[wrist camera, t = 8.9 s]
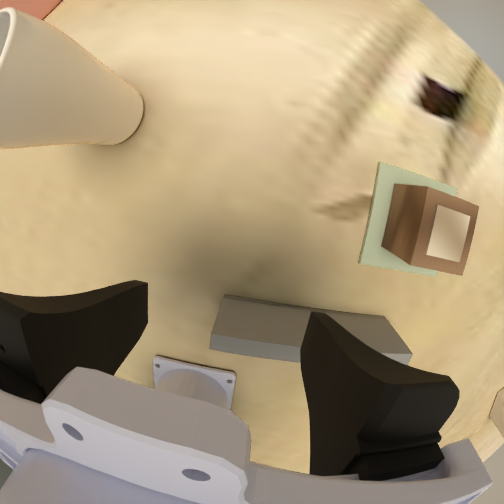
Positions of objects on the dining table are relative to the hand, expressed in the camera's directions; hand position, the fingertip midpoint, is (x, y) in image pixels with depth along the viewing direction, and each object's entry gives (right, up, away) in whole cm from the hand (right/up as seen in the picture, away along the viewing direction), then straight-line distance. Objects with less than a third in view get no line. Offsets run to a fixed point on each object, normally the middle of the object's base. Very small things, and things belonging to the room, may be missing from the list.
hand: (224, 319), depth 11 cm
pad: (+14, +5, +8) cm, 17 cm away
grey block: (+6, -4, +11) cm, 13 cm away
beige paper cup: (-10, +14, +7) cm, 19 cm away
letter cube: (+14, +5, +8) cm, 17 cm away
